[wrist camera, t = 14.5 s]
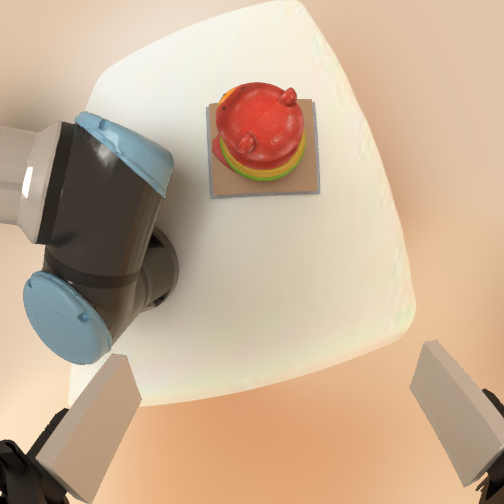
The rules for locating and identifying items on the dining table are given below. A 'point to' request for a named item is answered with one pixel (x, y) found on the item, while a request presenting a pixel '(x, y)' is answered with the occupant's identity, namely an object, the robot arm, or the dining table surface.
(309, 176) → the board
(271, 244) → the dining table surface
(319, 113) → the dining table surface
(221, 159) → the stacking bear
